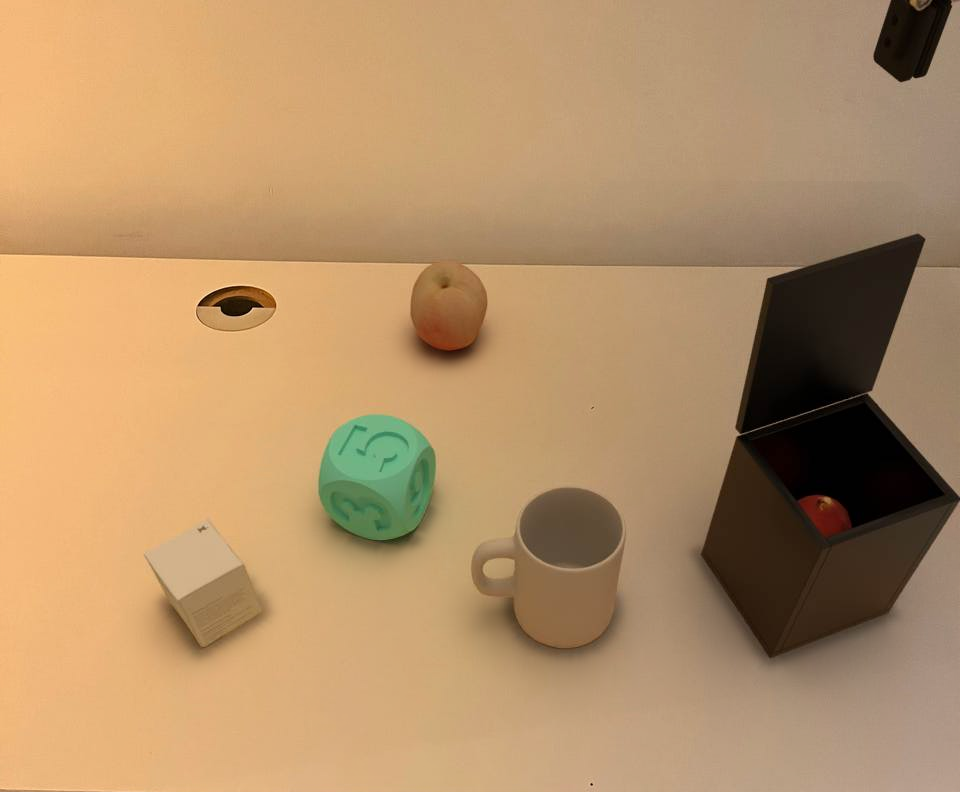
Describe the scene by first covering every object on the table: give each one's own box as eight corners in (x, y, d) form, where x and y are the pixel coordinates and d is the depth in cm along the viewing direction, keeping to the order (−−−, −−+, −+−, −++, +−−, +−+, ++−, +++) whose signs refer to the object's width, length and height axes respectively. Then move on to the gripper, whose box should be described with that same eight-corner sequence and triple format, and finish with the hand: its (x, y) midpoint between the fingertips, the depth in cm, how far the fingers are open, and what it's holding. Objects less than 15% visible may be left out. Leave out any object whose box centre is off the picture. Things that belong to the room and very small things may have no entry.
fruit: (397, 347, 98) (389, 282, 91) (439, 303, 101) (434, 237, 95) (461, 374, 95) (459, 309, 89) (502, 328, 99) (502, 263, 92)
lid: (926, 238, 62) (918, 232, 62) (773, 284, 60) (766, 277, 60) (872, 391, 72) (866, 385, 72) (740, 434, 70) (734, 428, 70)
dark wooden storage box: (888, 613, 79) (961, 498, 67) (769, 658, 77) (822, 549, 65) (813, 514, 85) (867, 392, 72) (700, 554, 83) (736, 435, 70)
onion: (809, 522, 83) (836, 461, 77) (850, 569, 81) (882, 509, 74) (755, 546, 82) (777, 486, 75) (794, 594, 79) (822, 536, 73)
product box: (168, 602, 81) (140, 551, 75) (229, 567, 83) (207, 515, 77) (202, 650, 79) (176, 601, 72) (264, 613, 81) (245, 562, 74)
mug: (606, 564, 82) (619, 481, 73) (618, 647, 78) (634, 569, 69) (471, 571, 82) (466, 489, 73) (475, 654, 78) (471, 577, 69)
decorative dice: (360, 465, 89) (349, 403, 82) (439, 486, 88) (433, 424, 81) (325, 528, 85) (310, 468, 78) (407, 551, 84) (398, 492, 77)
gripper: (1124, -406, 44) (961, 16, 60) (857, -368, 42) (758, 65, 57) (1247, -367, 41) (1039, 73, 56) (963, -322, 38) (827, 128, 53)
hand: (898, 68), depth 57 cm, fingers closed
